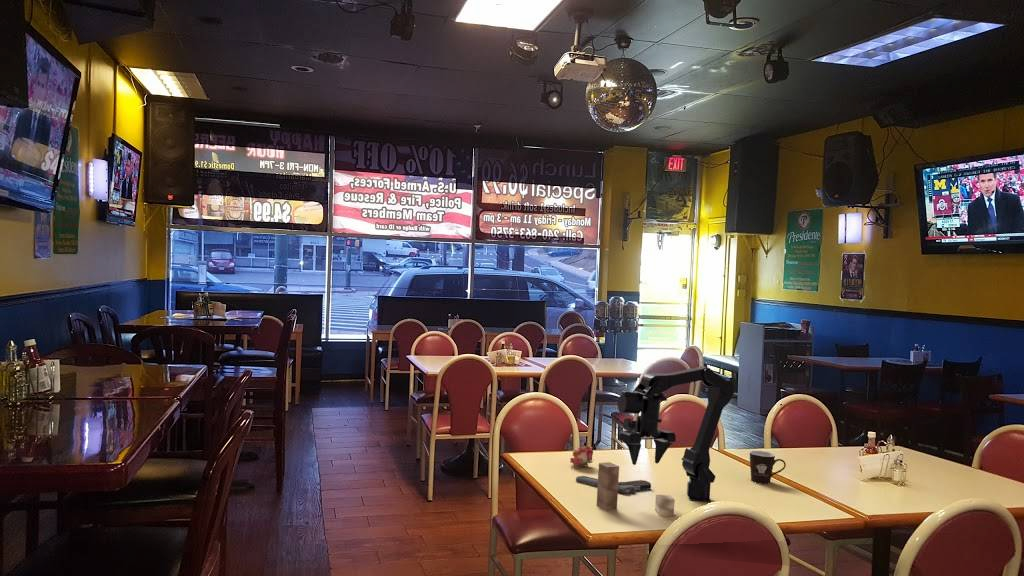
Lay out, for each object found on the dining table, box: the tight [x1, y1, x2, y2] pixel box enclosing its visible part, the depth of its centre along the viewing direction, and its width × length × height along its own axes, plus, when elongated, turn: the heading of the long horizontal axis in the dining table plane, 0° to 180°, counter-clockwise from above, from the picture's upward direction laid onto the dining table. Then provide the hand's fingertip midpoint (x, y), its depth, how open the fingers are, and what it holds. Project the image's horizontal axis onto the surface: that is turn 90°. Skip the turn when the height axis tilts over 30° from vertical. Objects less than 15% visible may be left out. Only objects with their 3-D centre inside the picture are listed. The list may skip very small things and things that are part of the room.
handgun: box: [575, 475, 652, 495], centre depth 245 cm, size 3×22×14 cm
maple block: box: [654, 494, 676, 517], centre depth 217 cm, size 4×4×5 cm
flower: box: [569, 445, 594, 469], centre depth 267 cm, size 10×9×8 cm
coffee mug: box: [749, 450, 787, 485], centre depth 259 cm, size 12×9×10 cm
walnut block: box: [596, 461, 620, 512], centre depth 220 cm, size 4×5×13 cm
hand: (645, 463), depth 228 cm, fingers open, 9 cm apart
